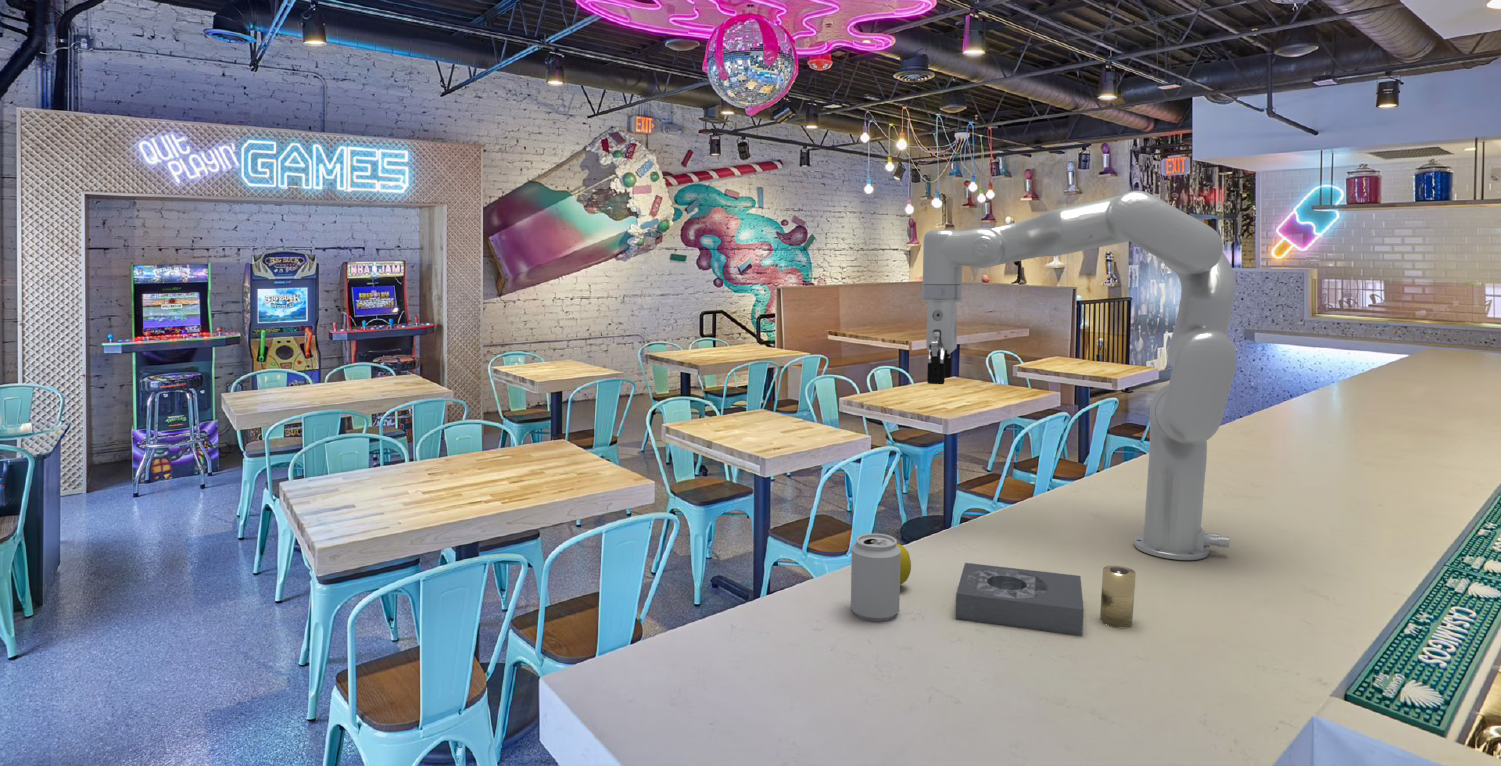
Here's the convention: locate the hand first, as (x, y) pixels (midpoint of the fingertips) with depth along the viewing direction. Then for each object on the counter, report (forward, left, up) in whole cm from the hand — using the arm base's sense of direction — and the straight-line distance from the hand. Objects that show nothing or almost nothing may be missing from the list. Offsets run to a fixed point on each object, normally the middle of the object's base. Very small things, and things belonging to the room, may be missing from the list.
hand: (939, 380), depth 167 cm
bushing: (-32, +36, -31) cm, 57 cm away
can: (+3, +45, -31) cm, 55 cm away
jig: (-18, +36, -30) cm, 51 cm away
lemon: (+2, +34, -31) cm, 46 cm away
